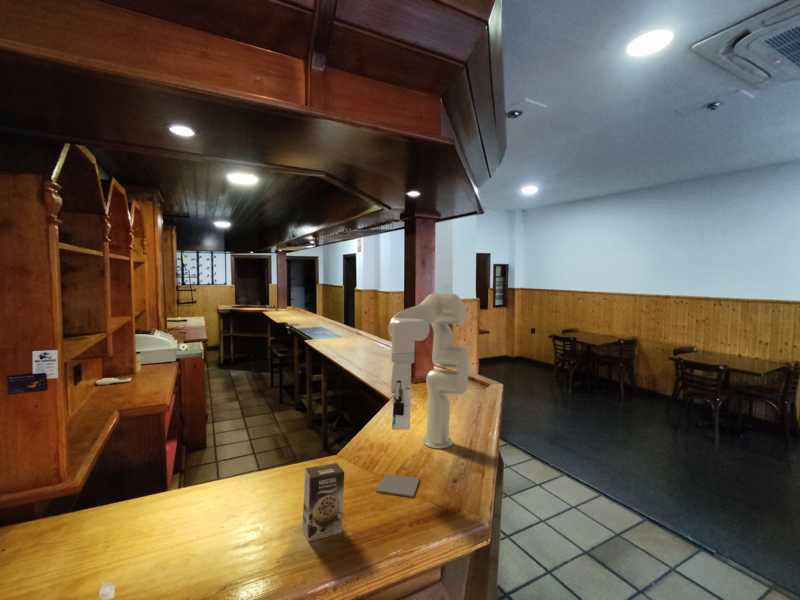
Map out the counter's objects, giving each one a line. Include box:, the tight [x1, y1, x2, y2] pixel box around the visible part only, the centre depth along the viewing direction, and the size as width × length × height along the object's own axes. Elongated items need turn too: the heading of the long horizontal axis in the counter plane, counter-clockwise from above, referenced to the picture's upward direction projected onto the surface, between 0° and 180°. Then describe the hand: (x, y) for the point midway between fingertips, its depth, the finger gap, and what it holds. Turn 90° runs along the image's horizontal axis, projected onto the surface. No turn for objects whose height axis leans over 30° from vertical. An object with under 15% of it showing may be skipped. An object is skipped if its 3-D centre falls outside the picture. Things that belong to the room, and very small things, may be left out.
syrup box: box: [391, 383, 412, 431], centre depth 124 cm, size 6×6×14 cm
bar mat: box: [375, 473, 421, 498], centre depth 124 cm, size 12×12×1 cm
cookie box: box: [302, 462, 345, 542], centre depth 99 cm, size 9×6×16 cm
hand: (401, 411), depth 124 cm, fingers closed on syrup box, 6 cm apart
